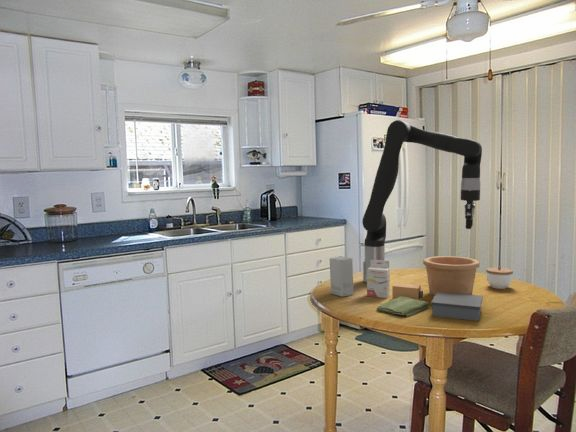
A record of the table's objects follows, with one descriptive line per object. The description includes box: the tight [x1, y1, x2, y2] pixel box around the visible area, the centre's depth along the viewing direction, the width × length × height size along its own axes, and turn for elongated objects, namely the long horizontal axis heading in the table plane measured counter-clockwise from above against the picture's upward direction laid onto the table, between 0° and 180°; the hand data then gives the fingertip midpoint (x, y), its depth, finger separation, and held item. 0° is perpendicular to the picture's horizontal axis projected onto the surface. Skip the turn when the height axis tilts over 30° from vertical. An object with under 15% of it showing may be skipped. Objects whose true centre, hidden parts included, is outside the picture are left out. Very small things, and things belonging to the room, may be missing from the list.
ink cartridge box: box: [366, 260, 391, 299], centre depth 189 cm, size 9×5×15 cm, turn 65°
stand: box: [430, 292, 484, 322], centre depth 165 cm, size 16×16×5 cm
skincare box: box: [329, 256, 354, 298], centre depth 193 cm, size 8×7×16 cm
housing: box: [391, 282, 424, 301], centre depth 182 cm, size 11×6×6 cm, turn 65°
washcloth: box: [376, 296, 430, 318], centre depth 170 cm, size 13×18×3 cm
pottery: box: [422, 255, 480, 298], centre depth 189 cm, size 22×22×14 cm
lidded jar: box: [485, 265, 514, 290], centre depth 200 cm, size 11×11×9 cm
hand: (469, 227), depth 191 cm, fingers open, 8 cm apart
